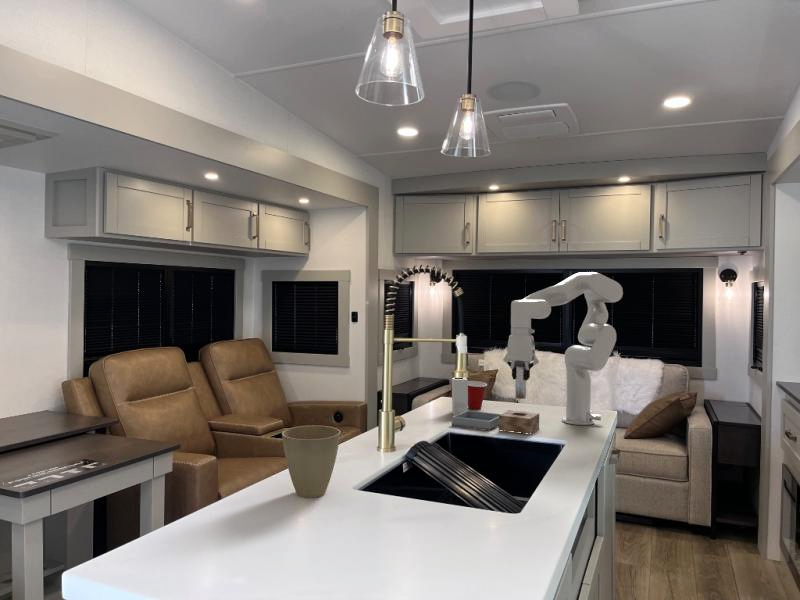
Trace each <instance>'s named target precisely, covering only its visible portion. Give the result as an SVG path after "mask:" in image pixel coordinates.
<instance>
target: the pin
mask: <svg viewBox="0 0 800 600" xmlns="http://www.w3.org/2000/svg"><path fill="white" fill-rule="evenodd" d="M515 365H516V377H515V379H514V380H515V388H514V389H515V391H514V392H515V393H514V394H515V399H518V400H522V399H526V398H527V380H524V371H525V370H526V367H525V362H524V361H515Z"/></svg>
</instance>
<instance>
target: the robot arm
mask: <svg viewBox="0 0 800 600" xmlns="http://www.w3.org/2000/svg"><path fill="white" fill-rule="evenodd" d="M623 291H624V290H623V287H622V285H621V284H620V283H619V282H617V281H616V280H614V279H611V278H610V277H607V276H606V275H603V274H602V273H598V272H594V271H591V272H590V271H589V272H588V271H587V272H577V273H574V274H572V275H570V276H569V277H567V278H565V279H564V280H561V281H560V282H558V283H557V284H555V285H552V286H549V287H546V288H543V289H541V290H537V291H536V292H533V293H531V294H529V295H528V296H525V297H524V298H523V299H522V298H521V299H518V300H517V299H515V300H512V301H511V304H510V326H511V327H510V335H509V336H508V342H507V349H506V351H507V352H506V355H505V356H504V357H503V360H502V361H503V362H505V363H506V364H507V365H508V367H510V369H511V377H512V380H515V377H516V365H515V361H524V362H525V367H526V370H525V371H524V380H526V381H528V380H529V379H530V376H531V369H532V368H533V367H534V366H535V365H537V364H538V363H540V361H539V359H538V358H537V356H536V348H535V347H536V346H535V339H534V336H533V335H532V334H535V329H532V319H535V320H536V319H539V320H541V319H542V320H543V319H546V318H548V317H549V316H550V314H551V312H552V307H556V306H562V305H565V304H567V303H569V302H571V301H573V300H574V299H576V298H577V297H579V296H581V295H582V294H584V298H585V300H586V304H587V314H586V316H585V317H584V320H583V322H582V325H581V327H580V328H579V331H578V334H577V339H578V342H579V343H580V344H582V345H579V344H578V345H577V344H574V345H571V346H570V347H567V349H566V350H565V352H564V364H565V369H566V394H565V395H566V398H565V399H566V401H565V403H566V404H565V406H566V409H565V416H563V417H562V419H561V421H562V422H563V423H566V424H570V425H578V426H588V425H589V426H591V425H593V424H595V421H602V416H601V415H599V414H593V411H592V410H591V391H592V390H591V386H592V385H591V384H592V383H591V382H592V380H591V375H590V372H589V371H591V372H592V371H593V372H598V371H602V370H603V369H604V368H605V366H606V365H607V363H608V361H609V359H610V356H611V354H612V352H613V349H614V347H615V345H616V342H617V332H616V329H615V328H614V327H613V326H612V325H610V324H609V323H607V322H608V319H609V312H608V310H607V306H606V304H605V303H616V302H619V301H620V300H621V299H622V298H623V295H624V292H623ZM532 361H533V362H532Z"/></svg>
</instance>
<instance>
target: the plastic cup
mask: <svg viewBox="0 0 800 600" xmlns="http://www.w3.org/2000/svg"><path fill="white" fill-rule="evenodd" d="M487 386H488V383H486V382H482V381H479V380H478V381H477V380H468V410H473V409H474V410H473V411H479V410H482V406H483V402H484V401H483V400H484V396H485V391H486V388H487ZM478 409H479V410H478Z"/></svg>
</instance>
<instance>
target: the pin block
mask: <svg viewBox="0 0 800 600" xmlns="http://www.w3.org/2000/svg"><path fill="white" fill-rule="evenodd" d="M500 414H501V415H499V426H498V431H499V430H503V431H502V432H504V430H505V431H514V432H521V433H528V434H530V433H532V432H533V431H535V430H537V429H538V430H540V413H539V412H530V411H521V410H520V411H519V410H513V409H510V410H507V411H505V412H503V413H500ZM538 430H537V431H538ZM535 432H536V431H535ZM533 433H534V432H533ZM533 433H532V434H533ZM530 435H531V434H530Z"/></svg>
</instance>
